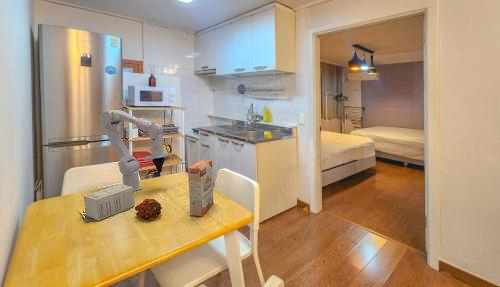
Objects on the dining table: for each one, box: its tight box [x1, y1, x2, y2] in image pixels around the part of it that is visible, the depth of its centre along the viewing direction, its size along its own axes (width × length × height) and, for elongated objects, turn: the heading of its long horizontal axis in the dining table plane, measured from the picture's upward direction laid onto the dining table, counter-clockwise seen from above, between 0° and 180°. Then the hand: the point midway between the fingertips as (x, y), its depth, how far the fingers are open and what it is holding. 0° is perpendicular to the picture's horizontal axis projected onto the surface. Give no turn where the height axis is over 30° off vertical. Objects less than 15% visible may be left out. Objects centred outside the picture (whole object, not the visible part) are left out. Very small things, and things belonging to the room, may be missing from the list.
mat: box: [81, 207, 131, 224], centre depth 113 cm, size 16×17×1 cm
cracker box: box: [187, 159, 214, 217], centre depth 110 cm, size 14×6×21 cm, turn 168°
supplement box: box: [83, 183, 136, 222], centre depth 111 cm, size 10×9×17 cm
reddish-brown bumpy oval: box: [134, 198, 163, 220], centre depth 105 cm, size 8×8×12 cm
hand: (159, 172), depth 134 cm, fingers closed
